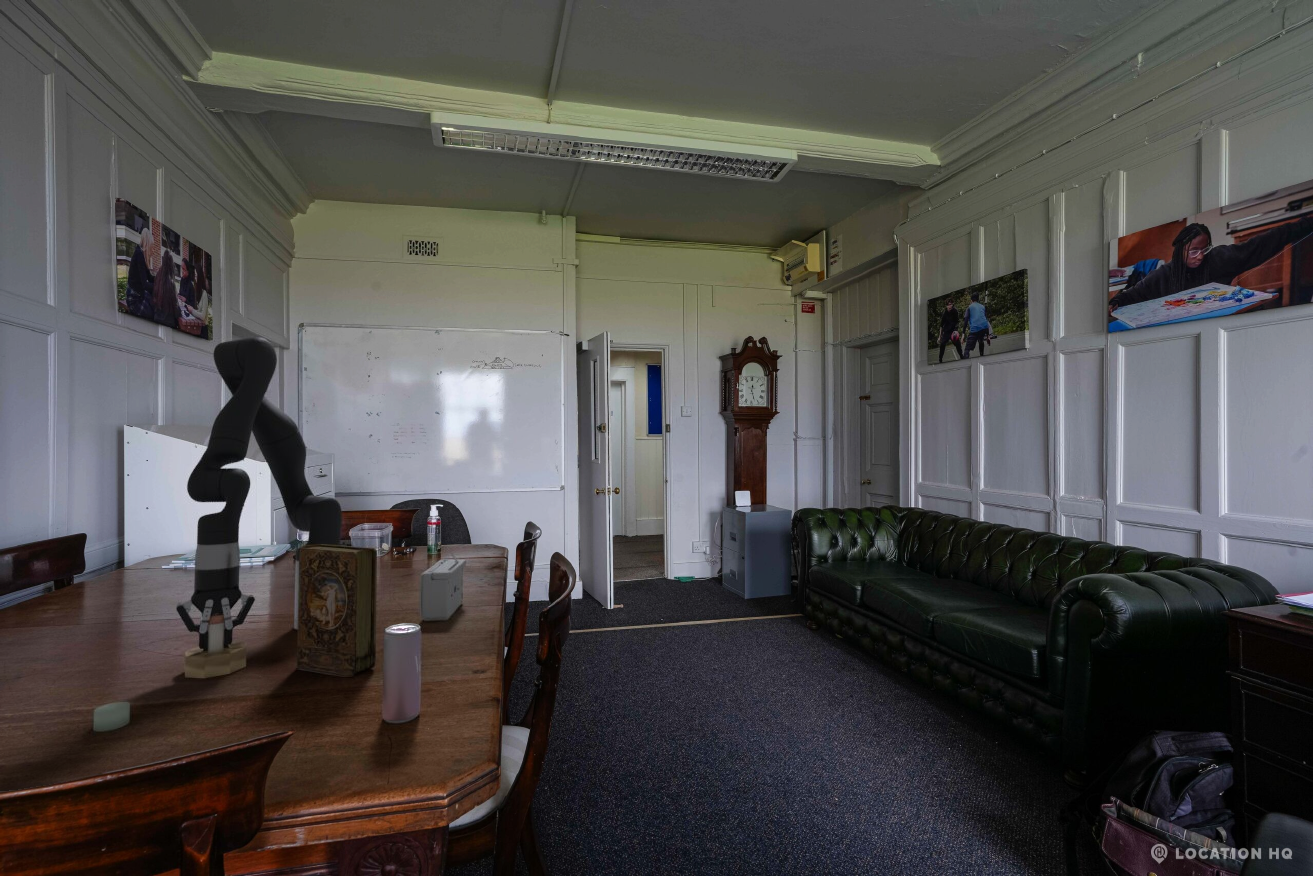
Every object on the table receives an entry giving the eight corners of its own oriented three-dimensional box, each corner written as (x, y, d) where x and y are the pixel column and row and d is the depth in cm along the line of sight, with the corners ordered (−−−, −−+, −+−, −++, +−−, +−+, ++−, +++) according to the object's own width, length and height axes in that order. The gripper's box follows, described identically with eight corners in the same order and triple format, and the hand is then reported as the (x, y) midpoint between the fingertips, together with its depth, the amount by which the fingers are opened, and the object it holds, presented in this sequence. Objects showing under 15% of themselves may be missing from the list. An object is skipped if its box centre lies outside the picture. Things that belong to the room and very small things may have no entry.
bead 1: (130, 717, 103) (130, 699, 103) (128, 727, 99) (129, 708, 99) (94, 724, 100) (95, 706, 100) (92, 734, 96) (92, 715, 96)
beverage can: (389, 709, 106) (390, 623, 106) (424, 709, 107) (425, 623, 107) (376, 725, 100) (378, 633, 101) (413, 724, 101) (415, 633, 101)
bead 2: (242, 657, 132) (242, 638, 132) (247, 670, 125) (247, 650, 125) (184, 667, 126) (184, 648, 126) (185, 681, 118) (186, 661, 118)
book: (292, 668, 126) (294, 547, 126) (315, 660, 131) (317, 543, 132) (354, 678, 120) (356, 552, 121) (375, 669, 126) (377, 548, 126)
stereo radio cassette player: (437, 603, 180) (438, 536, 181) (466, 602, 181) (467, 535, 182) (417, 623, 160) (419, 547, 160) (450, 622, 161) (451, 546, 161)
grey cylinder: (223, 660, 127) (224, 612, 128) (224, 664, 125) (225, 615, 125) (205, 663, 125) (207, 614, 126) (206, 667, 123) (207, 617, 123)
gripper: (255, 558, 133) (253, 638, 133) (174, 565, 124) (171, 650, 124) (260, 563, 127) (258, 646, 127) (174, 571, 118) (172, 660, 118)
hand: (215, 648), depth 125 cm, fingers closed on grey cylinder, 3 cm apart
